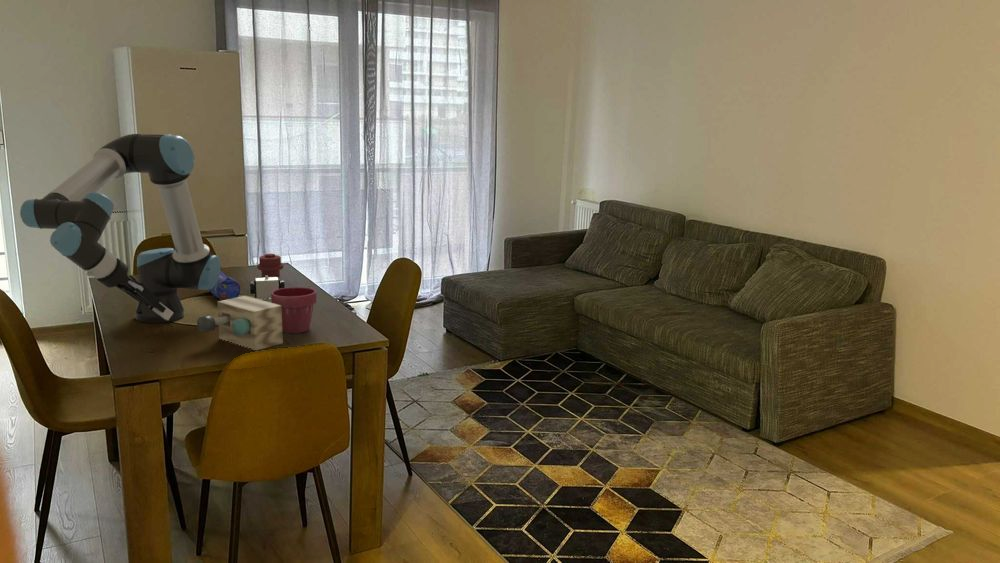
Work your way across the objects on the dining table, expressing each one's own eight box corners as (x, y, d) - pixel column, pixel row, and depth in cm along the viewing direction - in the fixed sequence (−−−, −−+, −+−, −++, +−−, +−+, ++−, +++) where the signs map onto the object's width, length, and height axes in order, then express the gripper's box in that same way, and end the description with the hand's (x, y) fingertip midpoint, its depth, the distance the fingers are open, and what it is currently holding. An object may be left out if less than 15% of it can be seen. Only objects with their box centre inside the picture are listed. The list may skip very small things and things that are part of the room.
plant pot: (287, 321, 264) (286, 284, 261) (325, 325, 260) (324, 288, 257) (263, 332, 250) (262, 294, 247) (302, 337, 246) (301, 298, 244)
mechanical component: (272, 280, 322) (289, 284, 316) (252, 284, 313) (269, 288, 308) (271, 251, 319) (288, 254, 314) (251, 254, 311) (268, 257, 305)
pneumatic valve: (285, 309, 279) (284, 276, 276) (251, 311, 275) (249, 278, 272) (284, 305, 284) (283, 273, 281) (250, 307, 280) (249, 274, 277)
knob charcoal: (206, 334, 232) (206, 318, 231) (197, 331, 234) (196, 315, 233) (242, 325, 241) (241, 310, 240) (232, 322, 244) (232, 308, 243)
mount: (255, 350, 233) (253, 311, 230) (219, 338, 243) (217, 301, 240) (282, 343, 240) (281, 305, 238) (246, 331, 251) (244, 295, 248)
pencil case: (202, 291, 301) (201, 267, 299) (225, 289, 306) (224, 265, 303) (218, 304, 283) (216, 278, 281) (242, 301, 288) (241, 276, 286)
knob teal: (242, 337, 230) (241, 321, 229) (232, 334, 233) (231, 318, 232) (276, 328, 240) (275, 313, 239) (266, 325, 242) (265, 310, 241)
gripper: (84, 276, 207) (148, 322, 224) (110, 283, 199) (174, 331, 217) (102, 253, 210) (164, 301, 227) (129, 260, 202) (190, 309, 220)
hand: (169, 316), depth 222 cm, fingers closed
